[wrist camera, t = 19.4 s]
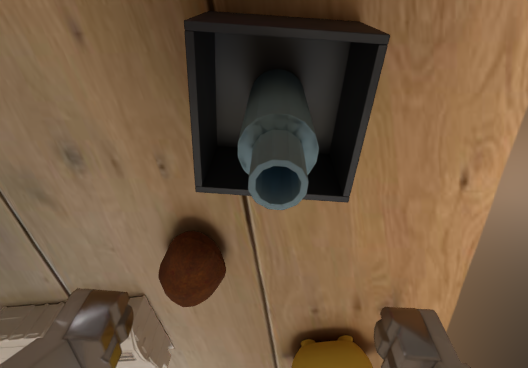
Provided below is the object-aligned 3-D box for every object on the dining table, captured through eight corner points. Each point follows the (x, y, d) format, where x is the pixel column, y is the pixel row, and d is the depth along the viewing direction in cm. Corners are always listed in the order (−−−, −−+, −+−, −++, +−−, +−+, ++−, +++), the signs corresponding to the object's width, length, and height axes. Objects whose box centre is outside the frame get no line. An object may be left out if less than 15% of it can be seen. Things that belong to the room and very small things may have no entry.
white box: (48, 355, 58) (23, 397, 52) (1, 306, 51) (-35, 348, 45) (176, 347, 55) (164, 390, 50) (146, 293, 48) (127, 336, 42)
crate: (208, 10, 27) (183, 20, 20) (360, 21, 27) (390, 34, 20) (212, 148, 34) (195, 192, 27) (333, 156, 34) (348, 202, 27)
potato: (225, 218, 39) (215, 262, 33) (232, 276, 45) (225, 324, 39) (158, 218, 40) (136, 263, 33) (175, 276, 45) (158, 323, 39)
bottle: (251, 66, 29) (230, 138, 15) (307, 71, 29) (335, 145, 15) (249, 120, 32) (229, 220, 18) (300, 124, 32) (318, 226, 18)
